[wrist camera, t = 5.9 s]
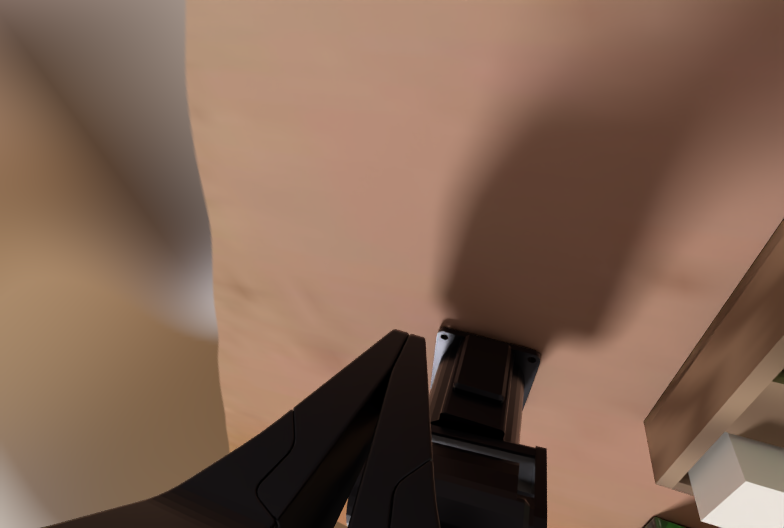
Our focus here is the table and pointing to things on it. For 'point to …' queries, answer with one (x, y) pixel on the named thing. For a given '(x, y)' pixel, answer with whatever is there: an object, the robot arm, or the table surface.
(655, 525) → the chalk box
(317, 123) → the table surface
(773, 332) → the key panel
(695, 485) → the white rectangular block
